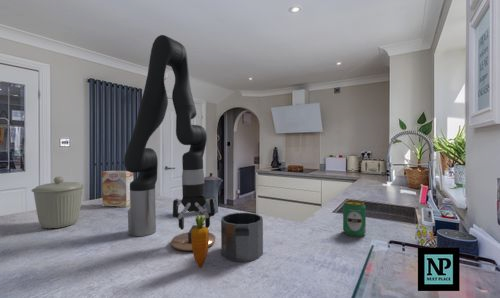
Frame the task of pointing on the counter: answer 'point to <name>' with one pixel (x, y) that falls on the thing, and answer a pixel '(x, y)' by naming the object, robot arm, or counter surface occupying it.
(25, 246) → the counter surface
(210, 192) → the moka pot
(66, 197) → the canister
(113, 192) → the coffeecake box
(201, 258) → the carrot
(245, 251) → the cooking pot
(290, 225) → the counter surface
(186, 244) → the lid
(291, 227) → the counter surface
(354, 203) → the beverage can
